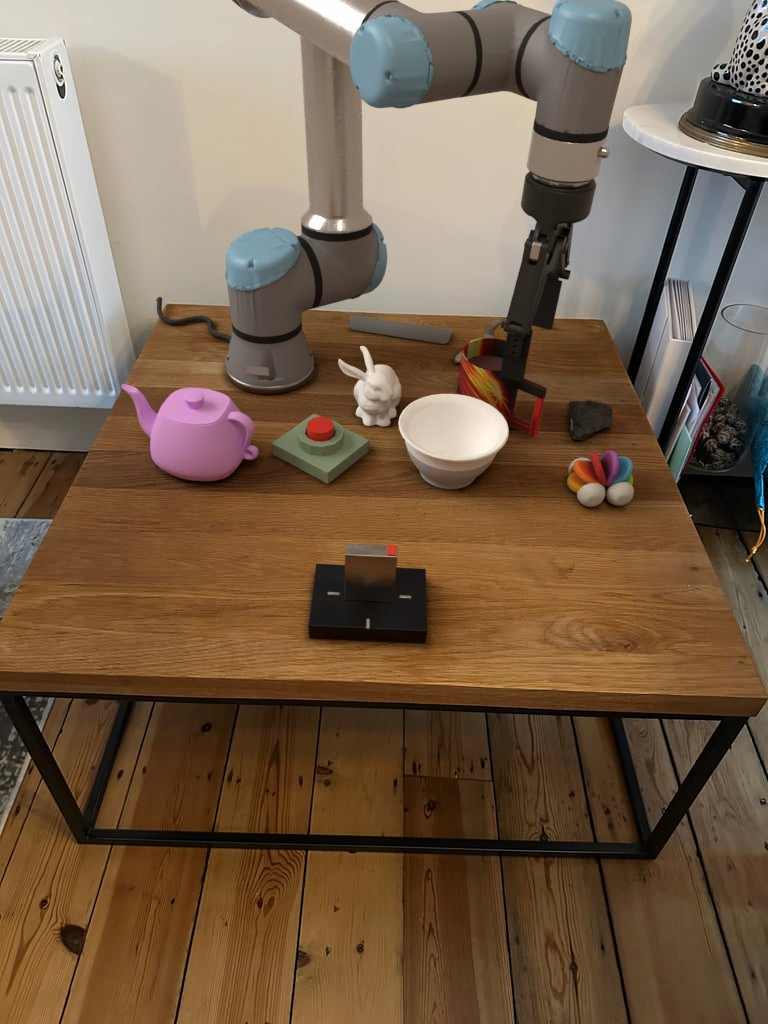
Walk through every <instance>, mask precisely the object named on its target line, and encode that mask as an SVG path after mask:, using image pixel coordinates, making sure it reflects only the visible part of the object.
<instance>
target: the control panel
mask: <svg viewBox="0 0 768 1024" xmlns="http://www.w3.org/2000/svg"><path fill="white" fill-rule="evenodd" d="M427 606H428V605H427V569H426V568H416V567H398V566H397V568H396V581H395V593H394V602H381V601H360V600H345V564H335V563H334V564H333V563H332V564H331V563H316V564H315V569H314V577H313V585H312V594H311V602H310V609H309V618H308V639H319V640H320V639H321V640H337V641H340V640H341V641H360V642H361V641H362V642H379V643H380V642H381V643H382V642H383V643H405V644H426V642H427V635H428V613H427V610H428V609H427Z"/></svg>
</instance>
